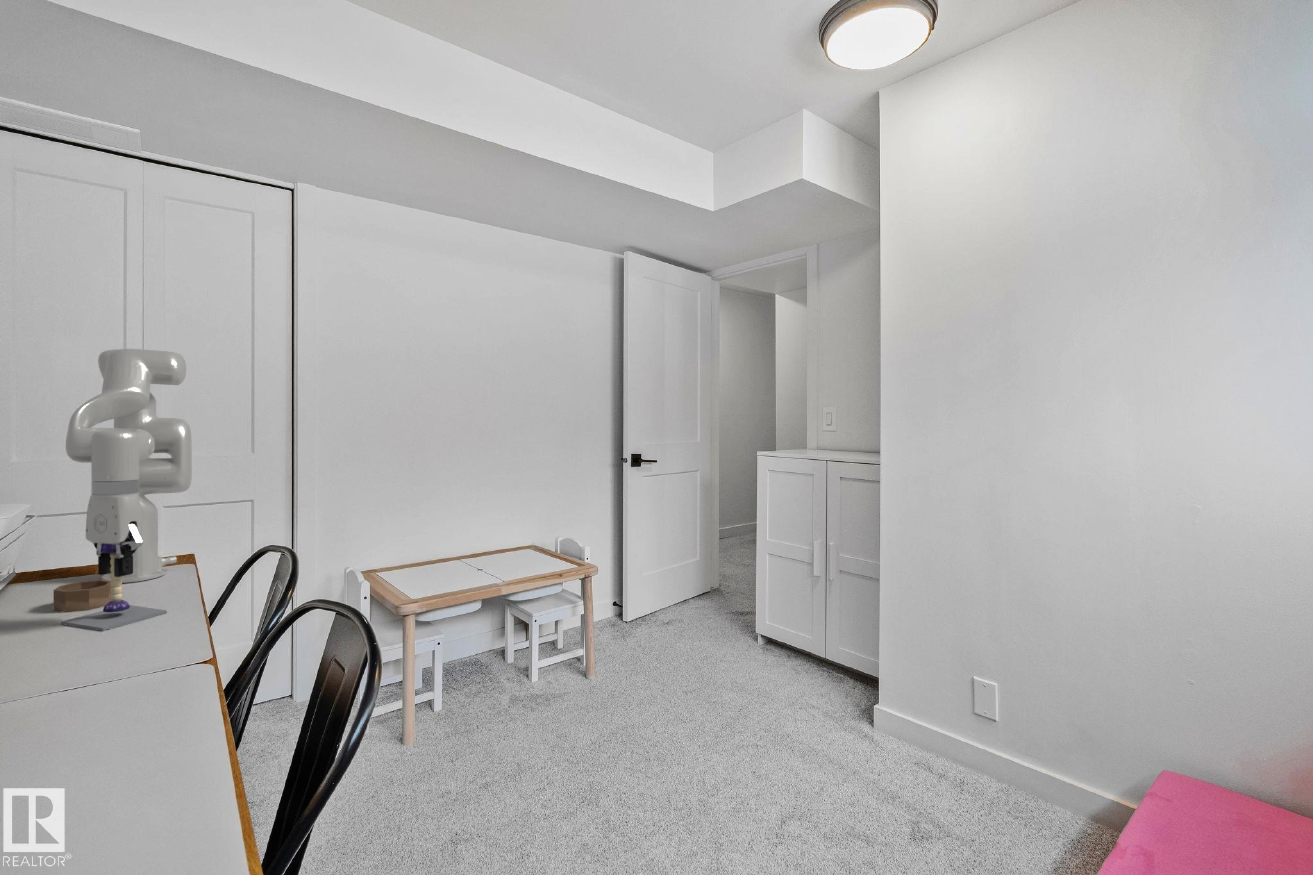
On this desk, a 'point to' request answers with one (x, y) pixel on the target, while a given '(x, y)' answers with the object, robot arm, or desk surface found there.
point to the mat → (113, 618)
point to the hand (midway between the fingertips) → (115, 573)
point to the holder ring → (82, 595)
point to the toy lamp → (114, 583)
